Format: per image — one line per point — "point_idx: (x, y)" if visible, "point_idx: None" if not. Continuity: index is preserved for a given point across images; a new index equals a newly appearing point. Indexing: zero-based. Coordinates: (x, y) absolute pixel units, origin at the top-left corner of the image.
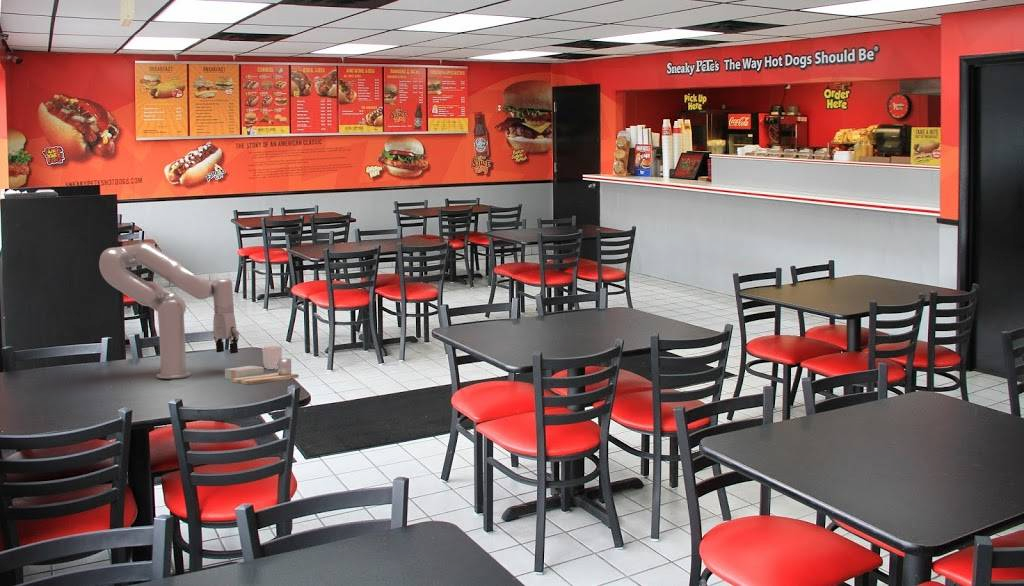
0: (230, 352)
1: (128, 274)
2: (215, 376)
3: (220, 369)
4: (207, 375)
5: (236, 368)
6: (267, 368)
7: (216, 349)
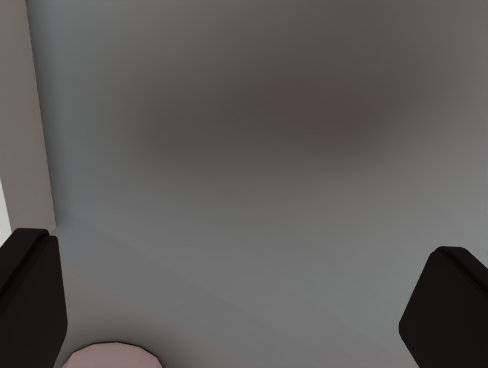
0: (24, 232)
1: None
2: (253, 25)
3: None
4: (374, 32)
5: None
6: (88, 364)
7: (486, 272)
